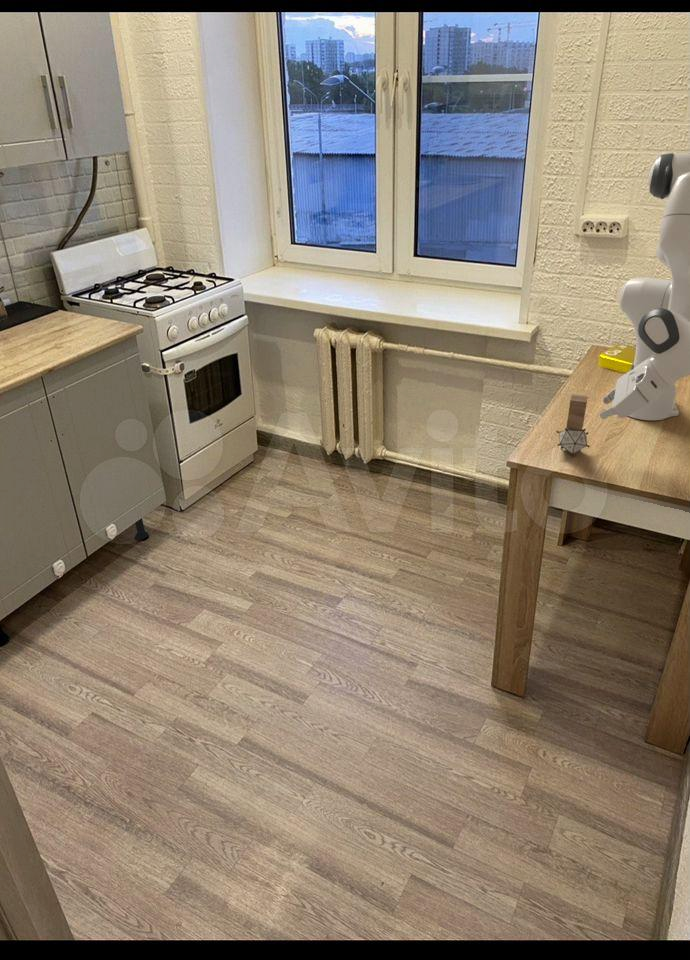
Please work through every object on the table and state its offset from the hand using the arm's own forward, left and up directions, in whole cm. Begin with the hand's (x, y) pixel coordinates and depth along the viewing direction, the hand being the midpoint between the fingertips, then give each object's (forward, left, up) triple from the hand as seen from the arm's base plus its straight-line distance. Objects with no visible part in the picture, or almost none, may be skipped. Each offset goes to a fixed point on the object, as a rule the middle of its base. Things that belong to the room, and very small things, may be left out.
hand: (602, 408), depth 183 cm
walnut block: (0, -6, -6) cm, 9 cm away
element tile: (-70, +5, -14) cm, 72 cm away
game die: (0, -6, -14) cm, 15 cm away
